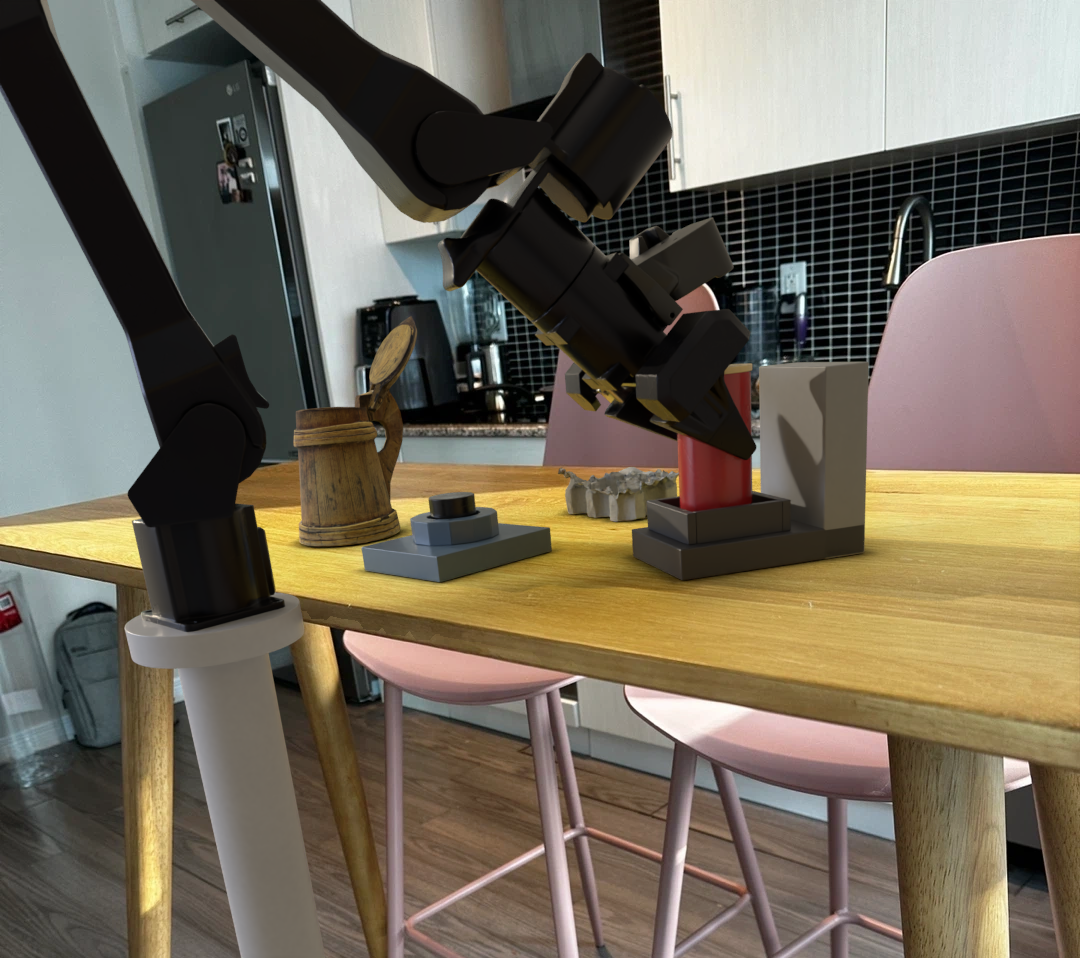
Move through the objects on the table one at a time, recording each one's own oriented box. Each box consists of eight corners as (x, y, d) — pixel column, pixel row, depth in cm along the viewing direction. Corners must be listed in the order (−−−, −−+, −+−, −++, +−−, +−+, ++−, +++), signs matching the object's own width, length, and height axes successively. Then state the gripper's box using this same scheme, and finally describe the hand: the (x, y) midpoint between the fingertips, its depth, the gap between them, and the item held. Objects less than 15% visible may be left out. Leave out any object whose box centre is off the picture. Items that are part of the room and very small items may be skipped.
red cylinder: (724, 532, 66) (720, 368, 62) (663, 527, 69) (657, 371, 66) (769, 518, 69) (768, 362, 66) (708, 514, 72) (704, 365, 69)
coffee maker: (682, 580, 65) (674, 382, 61) (632, 557, 73) (622, 380, 69) (864, 553, 68) (869, 361, 64) (797, 533, 76) (797, 362, 72)
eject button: (451, 524, 74) (448, 500, 73) (421, 522, 76) (419, 498, 76) (486, 516, 76) (483, 492, 76) (456, 514, 79) (454, 491, 78)
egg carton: (556, 513, 95) (552, 468, 93) (624, 501, 98) (621, 457, 97) (619, 524, 86) (616, 474, 85) (691, 510, 89) (689, 462, 88)
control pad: (440, 582, 71) (433, 532, 70) (364, 570, 77) (357, 524, 76) (552, 551, 78) (548, 504, 77) (474, 542, 84) (469, 499, 83)
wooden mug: (462, 524, 93) (438, 311, 87) (323, 551, 86) (286, 322, 80) (416, 516, 100) (391, 319, 94) (284, 540, 93) (248, 329, 87)
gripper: (711, 140, 52) (895, 350, 59) (596, 196, 69) (748, 354, 76) (575, 318, 53) (770, 505, 60) (495, 330, 70) (653, 475, 77)
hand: (734, 451), depth 68 cm, fingers closed on red cylinder, 5 cm apart
